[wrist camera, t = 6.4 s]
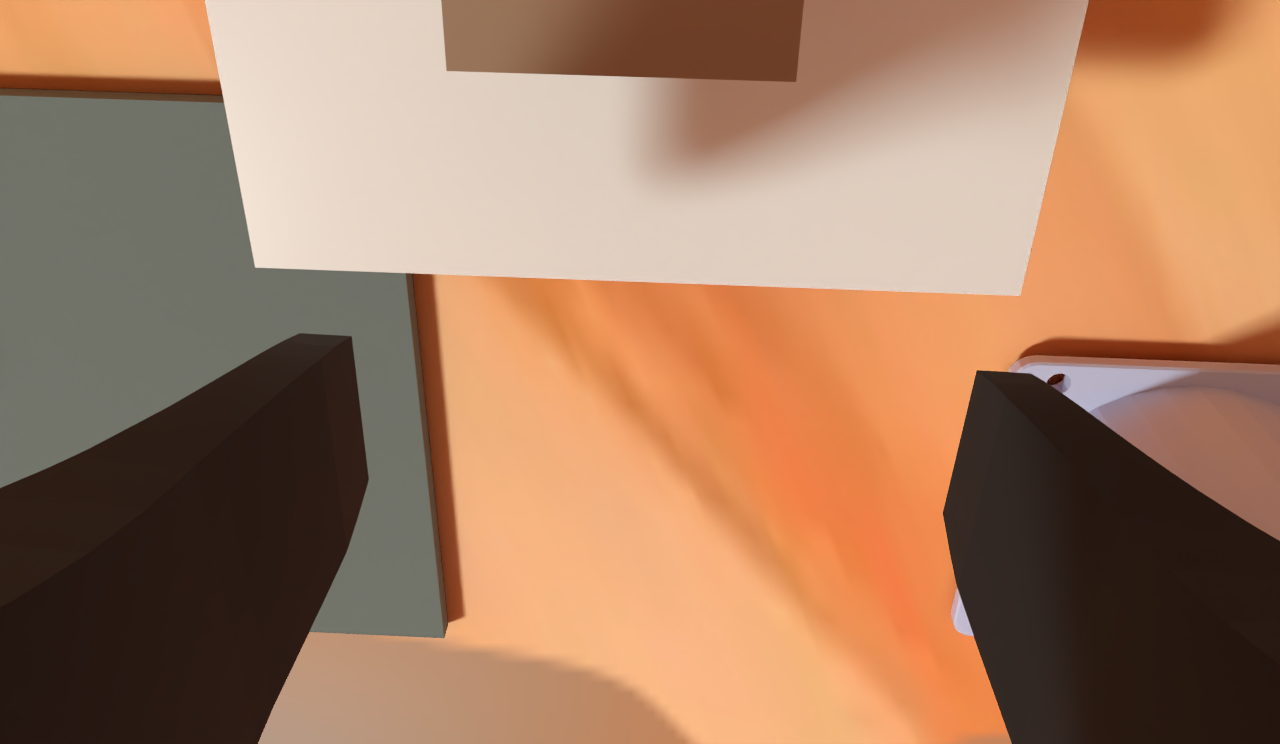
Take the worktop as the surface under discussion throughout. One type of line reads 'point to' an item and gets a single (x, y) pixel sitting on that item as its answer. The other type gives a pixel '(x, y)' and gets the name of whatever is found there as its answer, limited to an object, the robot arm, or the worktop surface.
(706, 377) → the worktop surface
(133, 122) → the mat
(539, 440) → the worktop surface
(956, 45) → the lid
